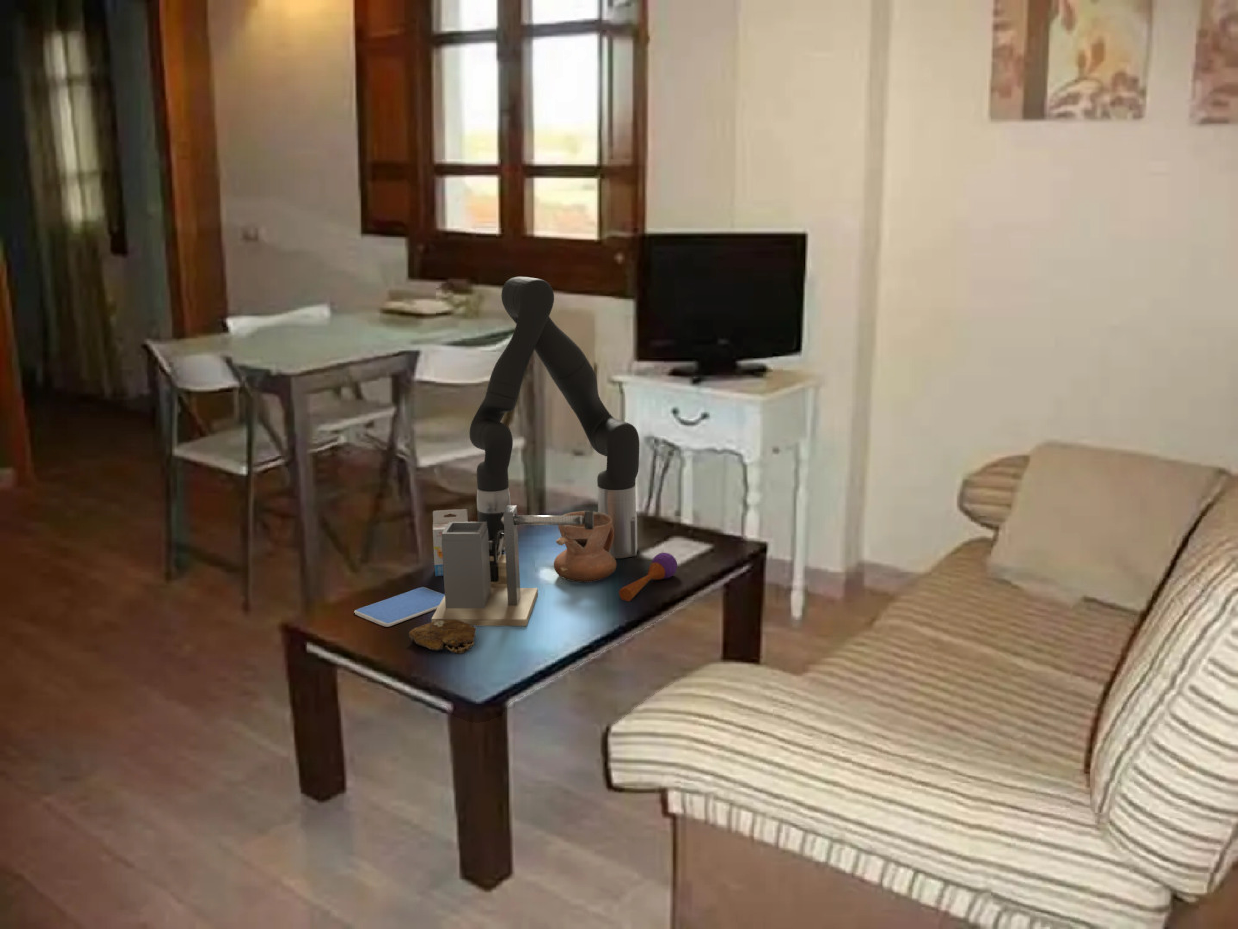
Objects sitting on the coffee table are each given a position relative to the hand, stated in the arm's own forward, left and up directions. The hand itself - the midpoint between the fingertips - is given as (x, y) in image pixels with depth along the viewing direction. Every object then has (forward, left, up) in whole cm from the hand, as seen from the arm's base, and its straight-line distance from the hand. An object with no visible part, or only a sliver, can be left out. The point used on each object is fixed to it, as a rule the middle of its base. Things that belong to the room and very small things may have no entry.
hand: (497, 574), depth 272 cm
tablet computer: (+18, +14, -3) cm, 23 cm away
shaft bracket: (-6, +14, -1) cm, 15 cm away
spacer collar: (0, 0, -3) cm, 3 cm away
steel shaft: (-14, +14, +16) cm, 25 cm away
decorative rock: (+5, +33, -3) cm, 33 cm away
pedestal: (+4, +14, -1) cm, 14 cm away
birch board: (0, +15, -2) cm, 15 cm away
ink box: (+12, -8, -3) cm, 15 cm away
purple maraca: (-35, +1, -3) cm, 35 cm away
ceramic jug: (-20, -6, -3) cm, 21 cm away
